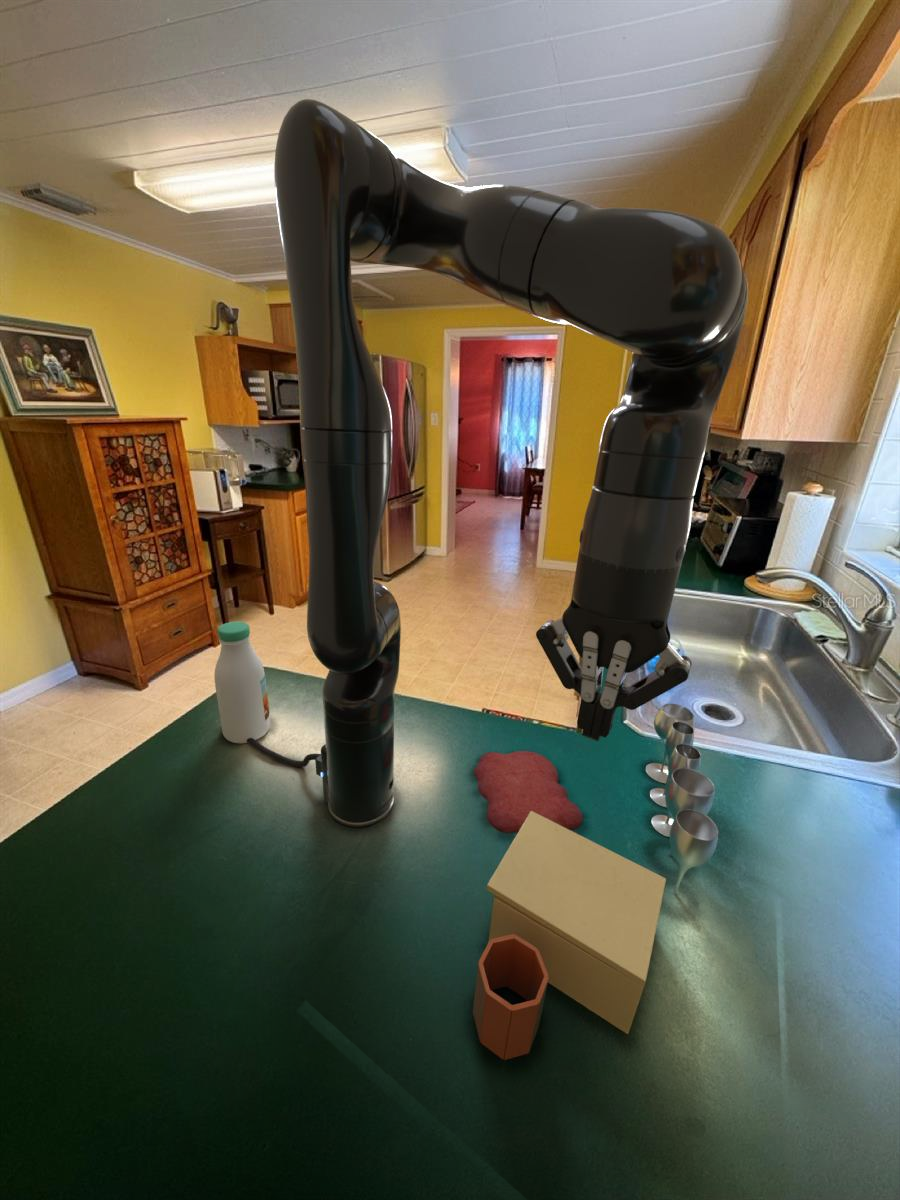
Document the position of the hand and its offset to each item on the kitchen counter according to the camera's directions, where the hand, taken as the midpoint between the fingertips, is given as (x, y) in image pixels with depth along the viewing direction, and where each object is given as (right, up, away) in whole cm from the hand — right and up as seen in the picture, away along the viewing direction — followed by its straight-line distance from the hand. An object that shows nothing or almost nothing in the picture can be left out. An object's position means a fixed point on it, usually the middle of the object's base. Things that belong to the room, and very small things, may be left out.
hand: (592, 733), depth 43 cm
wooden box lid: (0, -18, +6) cm, 19 cm away
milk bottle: (-48, -11, +39) cm, 63 cm away
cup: (-8, -28, +2) cm, 29 cm away
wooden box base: (0, -25, +9) cm, 27 cm away
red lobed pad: (-2, -18, +29) cm, 34 cm away
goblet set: (+18, -20, +25) cm, 37 cm away
